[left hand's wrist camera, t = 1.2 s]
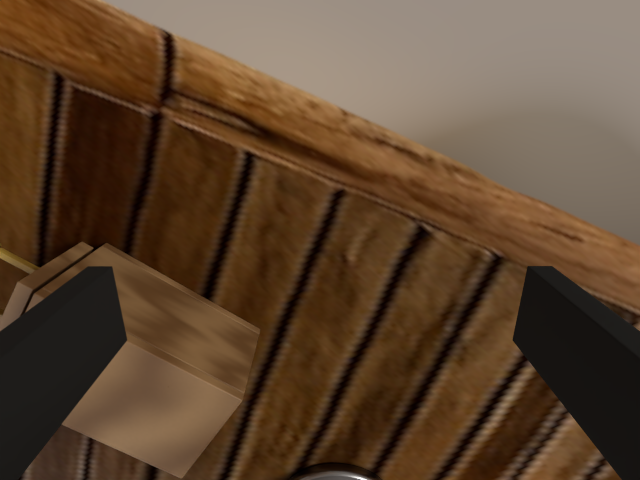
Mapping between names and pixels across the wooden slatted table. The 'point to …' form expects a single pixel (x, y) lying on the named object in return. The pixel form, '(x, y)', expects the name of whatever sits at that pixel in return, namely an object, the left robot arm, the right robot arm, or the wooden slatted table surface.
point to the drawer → (36, 278)
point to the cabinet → (162, 367)
